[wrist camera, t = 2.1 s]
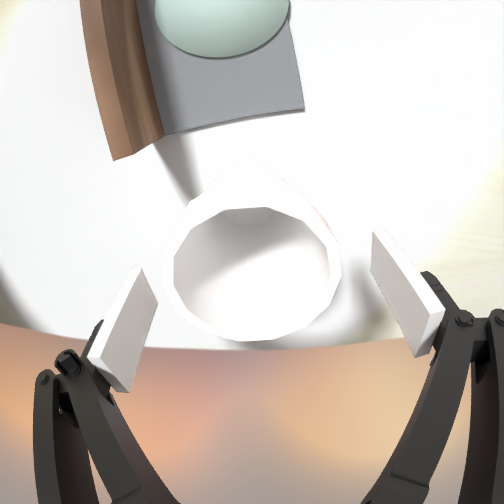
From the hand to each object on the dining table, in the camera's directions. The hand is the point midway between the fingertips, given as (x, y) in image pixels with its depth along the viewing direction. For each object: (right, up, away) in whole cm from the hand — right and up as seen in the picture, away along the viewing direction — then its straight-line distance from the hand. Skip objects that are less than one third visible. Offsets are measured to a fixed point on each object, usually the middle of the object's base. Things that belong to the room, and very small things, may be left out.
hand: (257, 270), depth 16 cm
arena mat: (-4, +21, +1) cm, 22 cm away
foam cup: (-1, +6, +10) cm, 12 cm away
